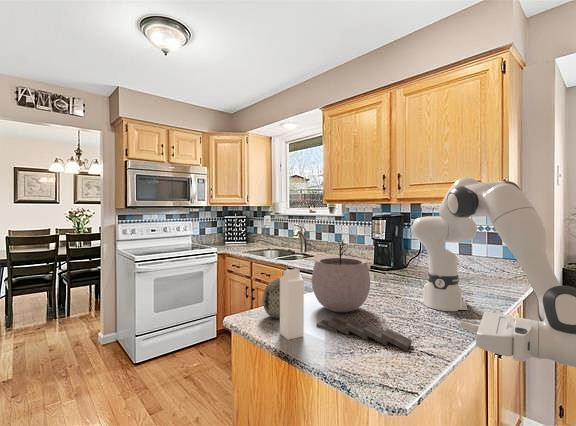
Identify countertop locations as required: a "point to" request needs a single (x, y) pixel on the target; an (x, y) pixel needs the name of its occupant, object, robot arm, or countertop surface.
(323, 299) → the plant pot
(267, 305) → the decorative egg
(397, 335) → the domino
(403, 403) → the countertop surface
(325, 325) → the domino
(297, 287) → the milk
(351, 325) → the domino
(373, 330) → the domino
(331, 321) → the domino
